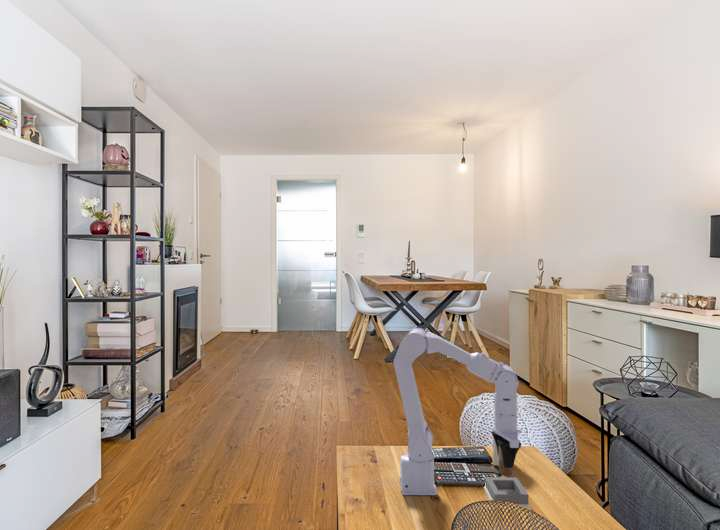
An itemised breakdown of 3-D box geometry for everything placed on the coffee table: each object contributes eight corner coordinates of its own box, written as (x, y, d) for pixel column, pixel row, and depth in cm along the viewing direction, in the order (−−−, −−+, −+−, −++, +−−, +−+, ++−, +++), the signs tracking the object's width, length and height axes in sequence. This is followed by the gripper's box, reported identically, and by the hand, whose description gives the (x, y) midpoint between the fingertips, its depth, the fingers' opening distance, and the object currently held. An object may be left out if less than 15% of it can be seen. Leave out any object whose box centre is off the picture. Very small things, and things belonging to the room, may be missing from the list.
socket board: (495, 511, 107) (495, 498, 107) (483, 486, 119) (483, 474, 119) (531, 512, 107) (531, 498, 107) (515, 486, 119) (515, 474, 119)
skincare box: (499, 459, 136) (498, 421, 136) (512, 462, 133) (512, 424, 133) (492, 466, 131) (492, 427, 131) (506, 470, 128) (506, 431, 128)
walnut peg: (501, 475, 111) (500, 449, 111) (497, 469, 115) (496, 443, 115) (515, 475, 111) (514, 449, 111) (510, 469, 115) (510, 443, 115)
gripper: (531, 422, 106) (531, 477, 106) (511, 403, 120) (511, 451, 120) (502, 422, 106) (502, 477, 106) (486, 403, 120) (486, 451, 120)
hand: (505, 463), depth 113 cm, fingers closed on walnut peg, 4 cm apart
